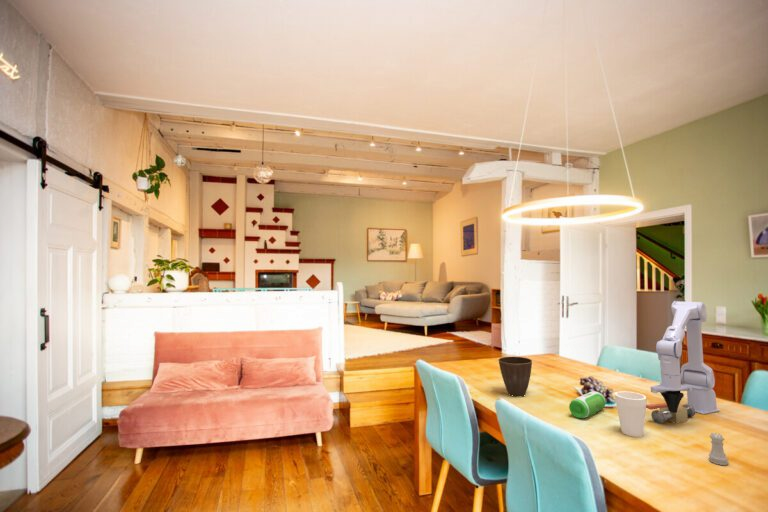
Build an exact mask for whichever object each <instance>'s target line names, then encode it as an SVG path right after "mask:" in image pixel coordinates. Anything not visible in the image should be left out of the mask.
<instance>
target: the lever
mask: <svg viewBox="0 0 768 512" xmlns="http://www.w3.org/2000/svg"><path fill="white" fill-rule="evenodd" d="M665 407H668V406H667V404H666V402H665V403H654V404H653V403H650V404H648V403H647V405H646V409H648V410H658V409H660V408H665Z"/></svg>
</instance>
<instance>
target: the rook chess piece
mask: <svg viewBox="0 0 768 512" xmlns="http://www.w3.org/2000/svg"><path fill="white" fill-rule="evenodd" d="M709 437H710V439H711V441H710V443H711V451H710V453H709V454H708V460H709V461H710V462H711V463H712V462H713V463H712V464H714V463H716V464H715V465H718V464H720V465H719V466H727V465H728V464H729V461H728V460H729V459H728V457H727V456H726V453H725V451H724V443H723V441H724V440H725V438H724V437H723V435H722V433H718V434H717V432H711V433H710V435H709Z"/></svg>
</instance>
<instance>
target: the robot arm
mask: <svg viewBox="0 0 768 512" xmlns="http://www.w3.org/2000/svg"><path fill="white" fill-rule="evenodd" d="M670 307H671V308H670V309H671V313H672V316H673V320H672V323H671V325H669V326H668V327H666V329H665V332H664V334H663V337H662V339H661V340H658V341H657V342H656V348H655V350H656V353H657V358H658V361H659V364H660V365H659V366H660V381H661V383H659V384H656V385H651V386H650V392H651V393H652V394H653V393H654V394H658V393H659V394H661V396H662V397H663V399H664V401H665V403H666V404H667V406H668V409H669V411H670V412H672V413H677V410H678V406H680V402H681V401H682V399H683V398H684V395H685V394H684V393H683V392H686V398H687V399H686V400H687V404H688V405H691V406H692V407H693V408H694V410H695V413H698V414H701V415H706V414H711V413H716V412H720V409H719V408H717V395H716V392H715V390H714V389H713V388H714V387H715V385H716V384H715V383H716V379H715V375H714V370H713V369H712V368H711V366H709V365H707V364H705V363H704V351H703V335H702V333H703V332H702V324H703V323H705V322H707V317H708V316H707V306H706V305H705V303H704V302H703V301H682V300H681V301H678V300H674V301H673V302H672V303H671V306H670ZM685 327H686V328H685ZM685 329H686V332H685ZM685 336H686V346H687V360H688V361H687V362H685V363H684V364H683V365H681V366H680V364H681V363H680V358H681V357H682V353H683V351H682V350H683V344H682V343H683V341H684V338H685Z"/></svg>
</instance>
